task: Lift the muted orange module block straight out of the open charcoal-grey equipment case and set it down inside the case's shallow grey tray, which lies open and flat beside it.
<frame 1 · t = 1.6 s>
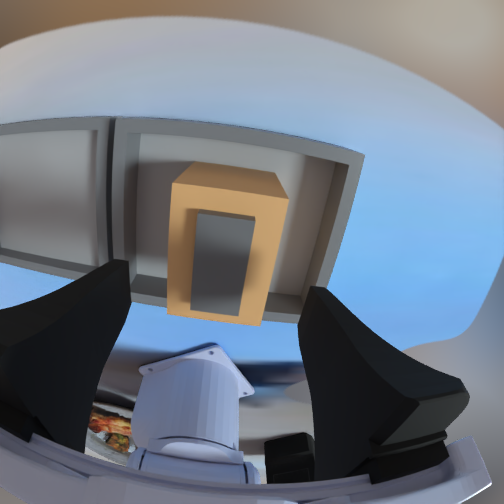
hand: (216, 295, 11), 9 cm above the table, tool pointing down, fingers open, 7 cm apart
module: (227, 218, 19), point 1 cm above the table, touching case
case: (227, 214, 20), on the table
shallow grey tray: (44, 194, 18), on the table
portable radio: (287, 443, 35), on the table
food plate: (133, 434, 35), on the table
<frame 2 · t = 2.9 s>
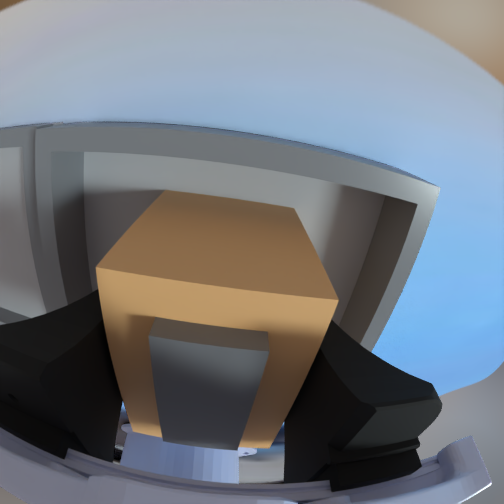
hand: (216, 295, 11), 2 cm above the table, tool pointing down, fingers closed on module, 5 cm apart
module: (218, 276, 12), point 1 cm above the table, touching case, gripper
case: (220, 267, 13), on the table
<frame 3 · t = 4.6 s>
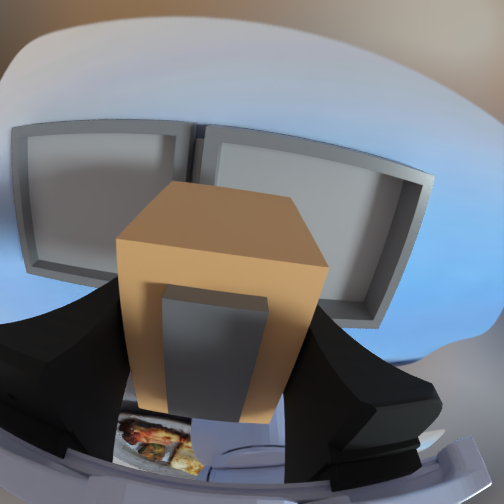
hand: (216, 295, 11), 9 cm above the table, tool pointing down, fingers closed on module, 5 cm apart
module: (221, 262, 13), point 7 cm above the table, touching gripper
case: (304, 227, 20), on the table
shallow grey tray: (96, 202, 19), on the table
food plate: (170, 443, 35), on the table
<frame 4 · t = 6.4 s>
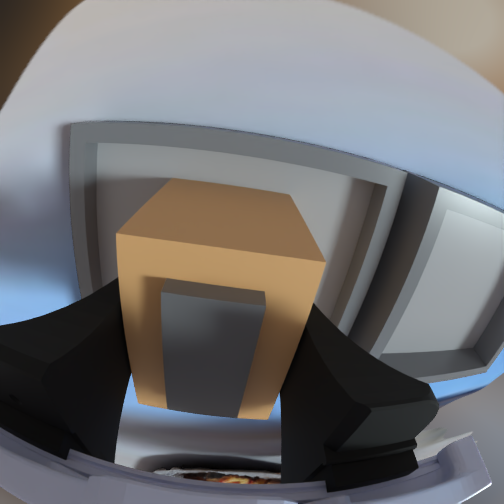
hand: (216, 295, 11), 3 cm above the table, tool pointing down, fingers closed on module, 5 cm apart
module: (220, 259, 13), point 1 cm above the table, touching gripper, shallow grey tray
case: (452, 285, 16), on the table
shallow grey tray: (221, 255, 14), on the table
food plate: (229, 482, 31), on the table
when the fingers open (3 cm above the table, at t = 6.8 s): module stays where it is, resting on shallow grey tray.
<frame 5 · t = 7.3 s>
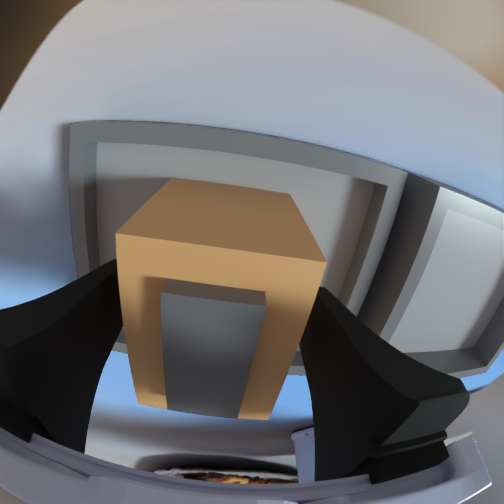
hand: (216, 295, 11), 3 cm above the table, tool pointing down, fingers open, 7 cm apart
module: (220, 258, 13), point 1 cm above the table, touching shallow grey tray
case: (452, 285, 16), on the table
shallow grey tray: (221, 255, 14), on the table
food plate: (229, 482, 31), on the table
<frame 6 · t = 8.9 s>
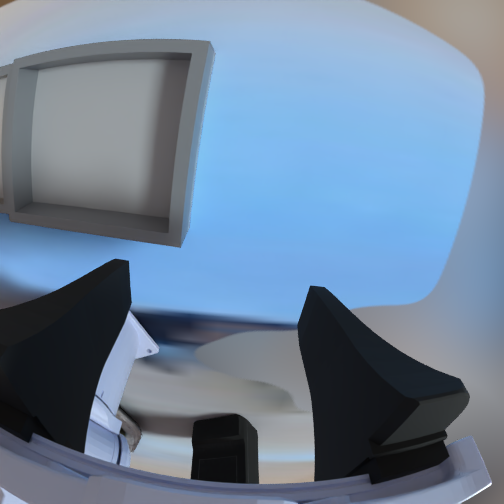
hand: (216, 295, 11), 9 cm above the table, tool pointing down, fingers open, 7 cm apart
case: (102, 134, 17), on the table
portable radio: (223, 427, 32), on the table
food plate: (69, 402, 32), on the table
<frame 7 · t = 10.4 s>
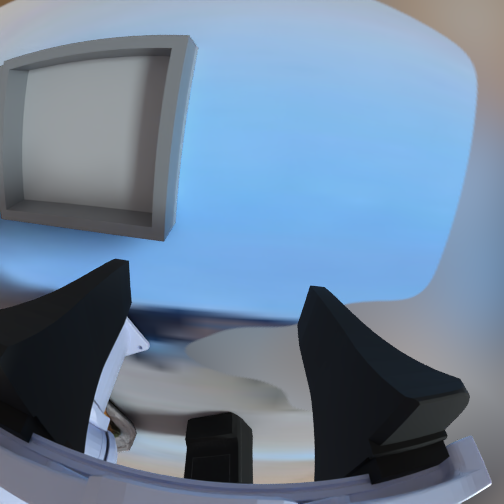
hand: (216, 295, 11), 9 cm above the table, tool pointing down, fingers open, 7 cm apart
case: (89, 131, 16), on the table
portable radio: (217, 425, 32), on the table
food plate: (65, 400, 32), on the table
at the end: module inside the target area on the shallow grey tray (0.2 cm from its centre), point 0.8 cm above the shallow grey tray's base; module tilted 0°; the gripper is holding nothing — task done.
